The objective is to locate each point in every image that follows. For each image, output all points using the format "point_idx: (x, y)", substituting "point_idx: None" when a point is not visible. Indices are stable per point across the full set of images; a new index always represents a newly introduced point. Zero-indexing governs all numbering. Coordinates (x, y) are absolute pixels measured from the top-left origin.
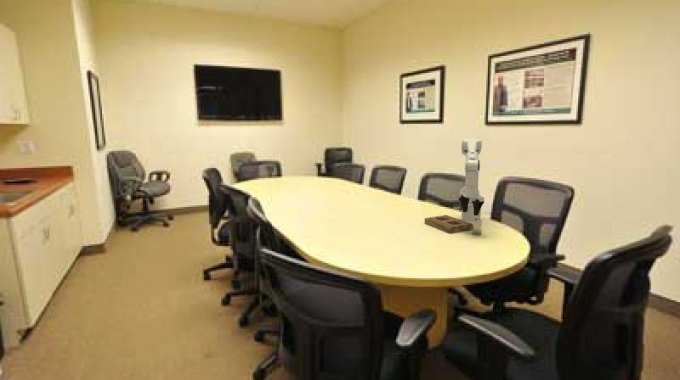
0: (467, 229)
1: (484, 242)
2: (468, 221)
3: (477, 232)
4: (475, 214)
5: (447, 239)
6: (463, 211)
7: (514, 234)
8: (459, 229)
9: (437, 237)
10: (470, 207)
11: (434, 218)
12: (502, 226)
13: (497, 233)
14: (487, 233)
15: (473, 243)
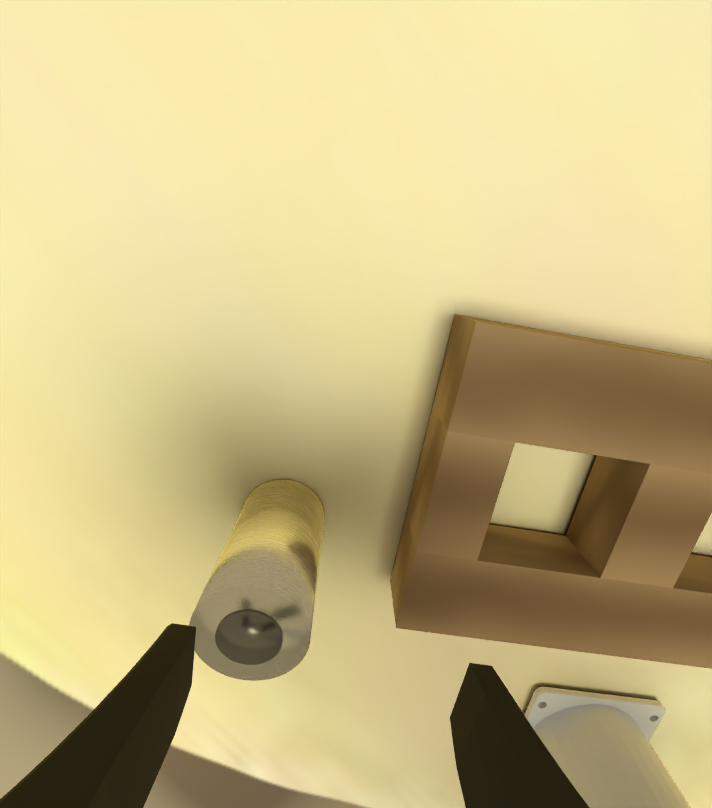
0: (403, 535)
1: (56, 368)
2: (553, 714)
3: (245, 504)
4: (154, 649)
5: (337, 119)
6: (477, 674)
7: None
8: (429, 450)
9: (468, 76)
10: None
11: None
12: (308, 787)
13: None
14: None
15: (78, 249)
